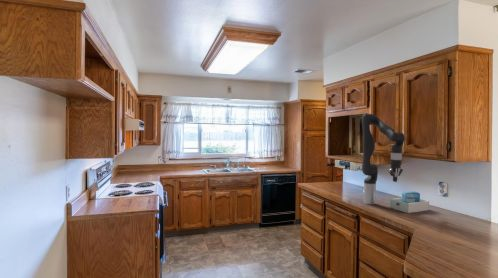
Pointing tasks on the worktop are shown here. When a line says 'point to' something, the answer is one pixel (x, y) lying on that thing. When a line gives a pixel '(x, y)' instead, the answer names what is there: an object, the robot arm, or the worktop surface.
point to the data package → (410, 197)
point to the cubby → (417, 205)
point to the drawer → (399, 205)
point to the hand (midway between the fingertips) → (395, 181)
